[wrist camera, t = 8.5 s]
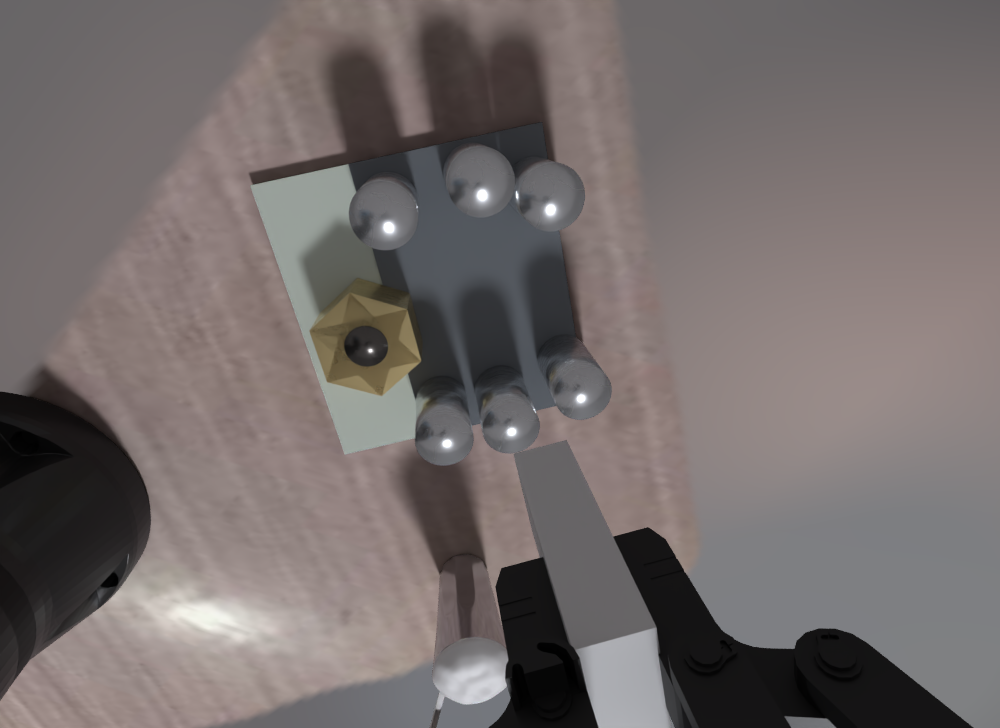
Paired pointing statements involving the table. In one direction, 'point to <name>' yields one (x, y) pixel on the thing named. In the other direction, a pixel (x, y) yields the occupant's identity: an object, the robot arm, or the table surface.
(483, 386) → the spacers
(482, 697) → the milkshake
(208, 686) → the table surface
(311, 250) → the mat
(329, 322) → the nut
